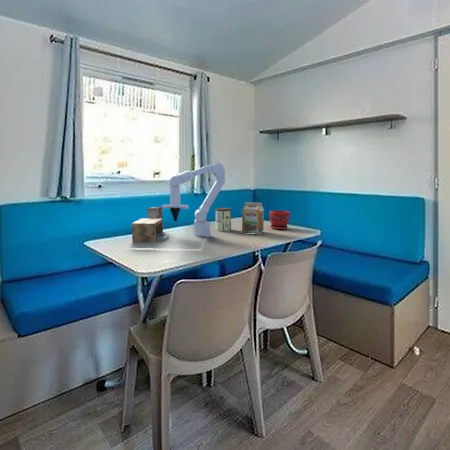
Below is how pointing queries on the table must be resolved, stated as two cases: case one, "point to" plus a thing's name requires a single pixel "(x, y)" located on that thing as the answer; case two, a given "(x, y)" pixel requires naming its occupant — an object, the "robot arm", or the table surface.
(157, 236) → the tray
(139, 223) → the brown boxy block
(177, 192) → the robot arm
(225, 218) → the coffee can
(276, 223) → the plant pot
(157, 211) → the coffee box
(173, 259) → the table surface
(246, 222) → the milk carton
